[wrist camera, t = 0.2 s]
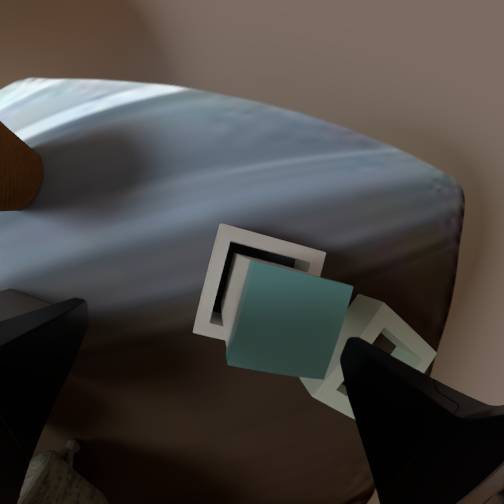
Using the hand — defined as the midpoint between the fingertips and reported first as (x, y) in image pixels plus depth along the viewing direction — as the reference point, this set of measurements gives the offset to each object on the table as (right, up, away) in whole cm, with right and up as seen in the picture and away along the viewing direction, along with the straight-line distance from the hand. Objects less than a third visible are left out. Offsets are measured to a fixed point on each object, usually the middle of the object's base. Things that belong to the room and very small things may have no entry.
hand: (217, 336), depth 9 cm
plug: (+1, 0, +16) cm, 16 cm away
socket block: (+12, -8, +17) cm, 22 cm away
